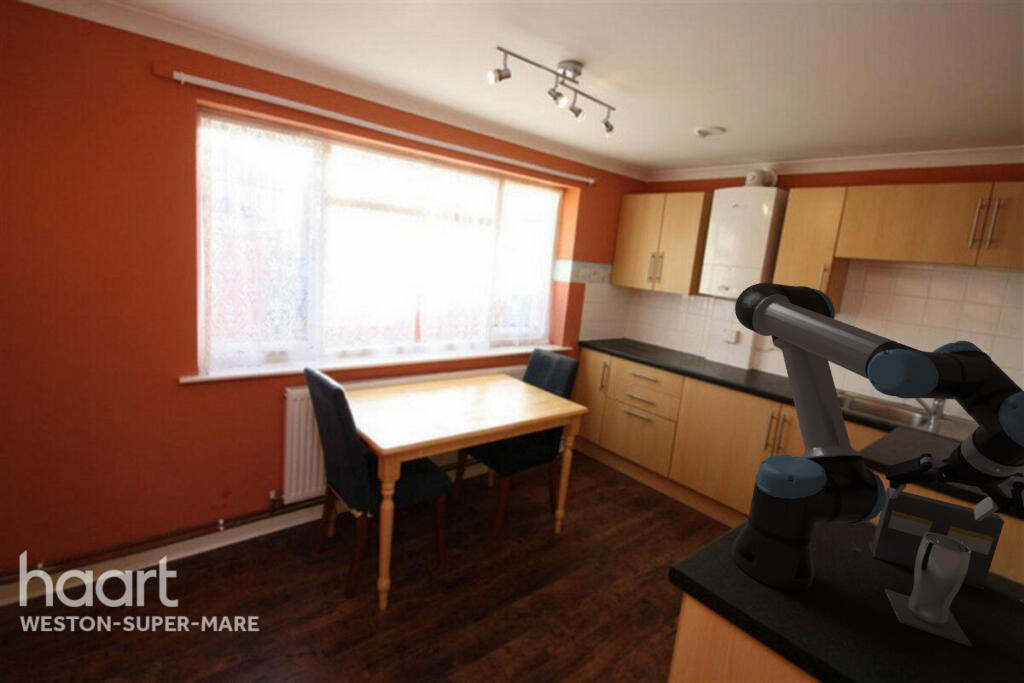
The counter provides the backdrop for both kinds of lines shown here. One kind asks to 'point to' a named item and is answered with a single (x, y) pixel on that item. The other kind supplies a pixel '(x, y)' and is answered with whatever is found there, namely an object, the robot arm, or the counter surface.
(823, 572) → the counter surface
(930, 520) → the label panel
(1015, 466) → the robot arm
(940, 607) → the beer glass
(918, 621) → the rubber mat
